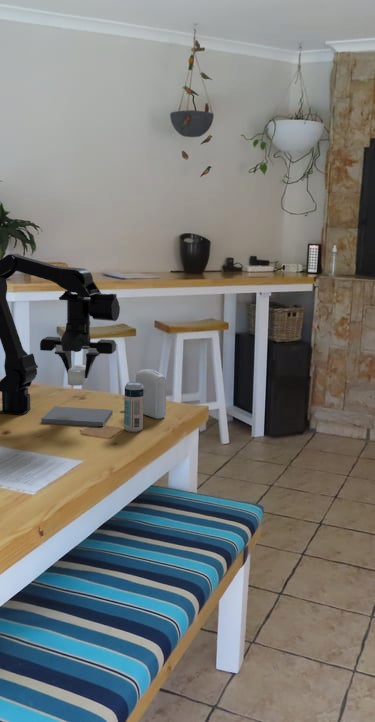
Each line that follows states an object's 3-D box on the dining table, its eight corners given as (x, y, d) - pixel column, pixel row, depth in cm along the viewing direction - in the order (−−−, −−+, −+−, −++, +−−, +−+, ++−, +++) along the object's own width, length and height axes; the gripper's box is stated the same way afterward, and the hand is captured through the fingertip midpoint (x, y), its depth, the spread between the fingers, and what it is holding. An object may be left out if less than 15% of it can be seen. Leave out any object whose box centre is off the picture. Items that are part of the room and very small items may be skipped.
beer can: (145, 428, 176) (146, 382, 173) (138, 433, 171) (139, 386, 169) (128, 426, 177) (129, 380, 175) (120, 431, 173) (121, 384, 170)
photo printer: (132, 411, 191) (133, 367, 189) (145, 409, 194) (146, 365, 191) (155, 420, 183) (156, 374, 181) (168, 417, 186) (169, 372, 184)
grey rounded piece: (66, 385, 176) (66, 371, 176) (77, 375, 187) (77, 362, 187) (81, 386, 176) (81, 372, 175) (91, 376, 187) (92, 363, 186)
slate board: (41, 422, 177) (41, 418, 177) (54, 410, 189) (54, 406, 189) (102, 426, 176) (102, 422, 176) (112, 414, 188) (112, 409, 187)
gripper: (32, 320, 170) (33, 382, 173) (107, 324, 169) (106, 386, 172) (46, 315, 181) (46, 373, 184) (116, 318, 179) (115, 377, 182)
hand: (78, 377), depth 180 cm, fingers closed on grey rounded piece, 4 cm apart
